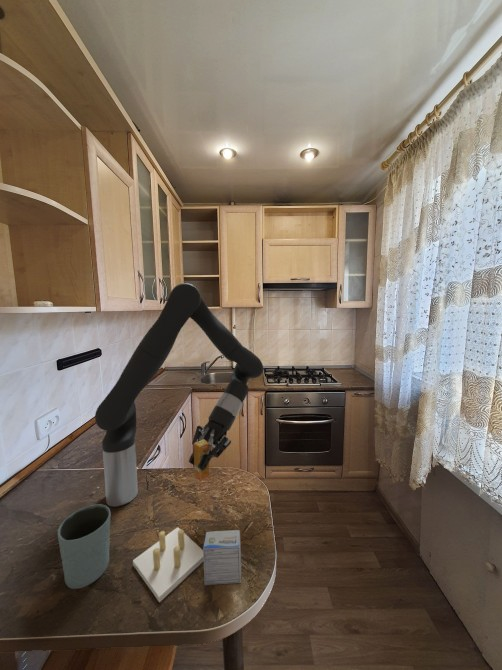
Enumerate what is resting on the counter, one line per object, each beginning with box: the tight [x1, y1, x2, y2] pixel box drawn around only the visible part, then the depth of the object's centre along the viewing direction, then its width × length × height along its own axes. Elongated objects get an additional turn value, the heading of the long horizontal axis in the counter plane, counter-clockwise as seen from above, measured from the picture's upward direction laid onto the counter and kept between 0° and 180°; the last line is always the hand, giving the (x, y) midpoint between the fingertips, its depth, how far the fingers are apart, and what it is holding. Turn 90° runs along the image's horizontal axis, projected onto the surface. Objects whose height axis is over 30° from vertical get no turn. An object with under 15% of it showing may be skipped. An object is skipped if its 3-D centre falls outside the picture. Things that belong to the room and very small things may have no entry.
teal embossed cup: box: [57, 503, 112, 590], centre depth 57 cm, size 10×10×12 cm
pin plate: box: [132, 526, 204, 603], centre depth 58 cm, size 12×12×5 cm
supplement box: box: [193, 440, 210, 482], centre depth 71 cm, size 3×3×10 cm
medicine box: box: [202, 529, 242, 586], centre depth 55 cm, size 8×4×9 cm, turn 92°
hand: (196, 466), depth 70 cm, fingers closed on supplement box, 3 cm apart
